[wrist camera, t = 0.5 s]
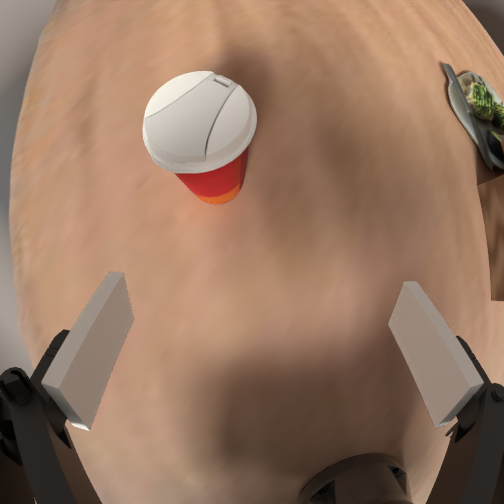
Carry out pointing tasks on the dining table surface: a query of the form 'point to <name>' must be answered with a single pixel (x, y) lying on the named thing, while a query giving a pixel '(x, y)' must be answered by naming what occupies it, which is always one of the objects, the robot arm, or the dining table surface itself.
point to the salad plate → (479, 114)
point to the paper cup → (202, 133)
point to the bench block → (494, 230)
